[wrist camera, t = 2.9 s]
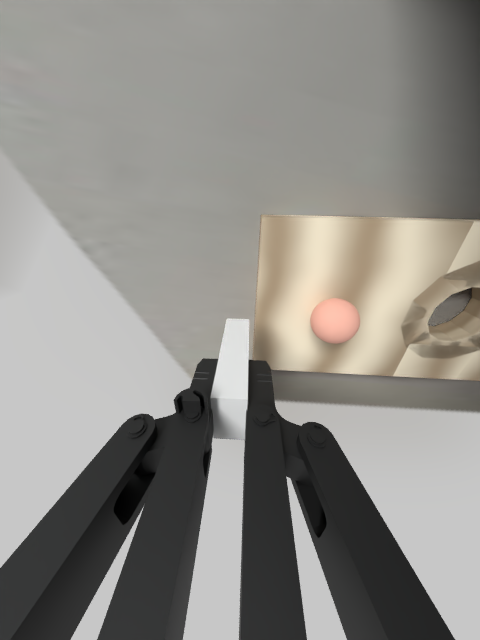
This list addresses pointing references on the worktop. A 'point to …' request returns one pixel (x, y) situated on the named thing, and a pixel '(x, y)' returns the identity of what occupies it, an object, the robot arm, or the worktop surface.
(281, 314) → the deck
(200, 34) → the worktop surface
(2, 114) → the worktop surface
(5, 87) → the worktop surface
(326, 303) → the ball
